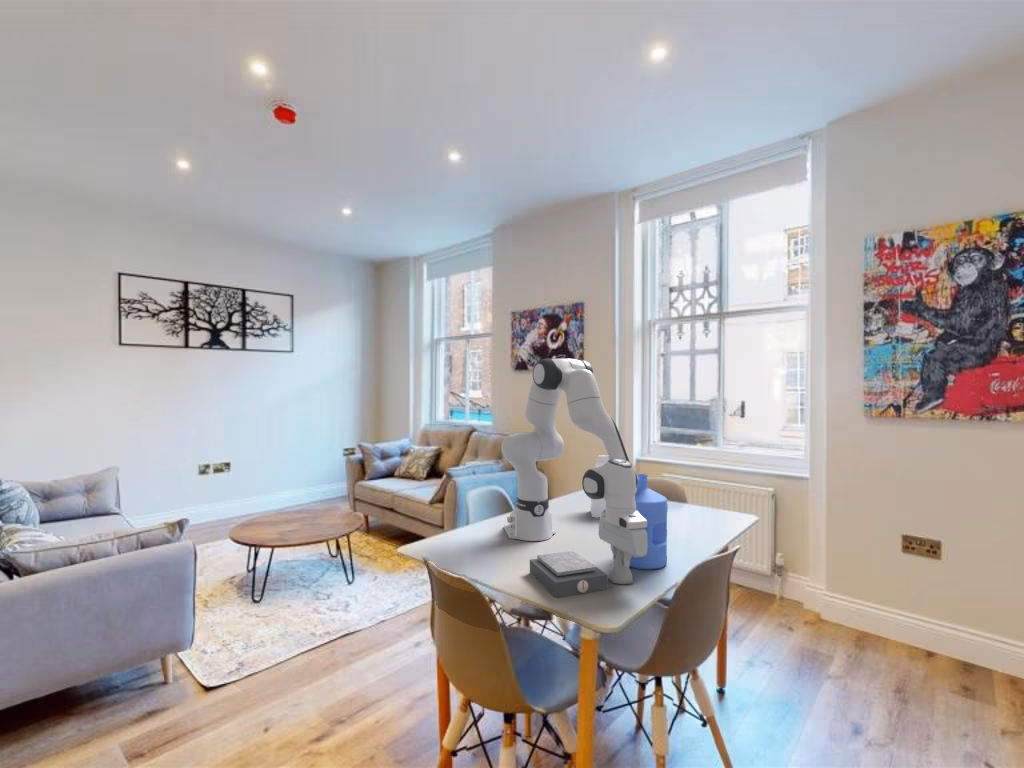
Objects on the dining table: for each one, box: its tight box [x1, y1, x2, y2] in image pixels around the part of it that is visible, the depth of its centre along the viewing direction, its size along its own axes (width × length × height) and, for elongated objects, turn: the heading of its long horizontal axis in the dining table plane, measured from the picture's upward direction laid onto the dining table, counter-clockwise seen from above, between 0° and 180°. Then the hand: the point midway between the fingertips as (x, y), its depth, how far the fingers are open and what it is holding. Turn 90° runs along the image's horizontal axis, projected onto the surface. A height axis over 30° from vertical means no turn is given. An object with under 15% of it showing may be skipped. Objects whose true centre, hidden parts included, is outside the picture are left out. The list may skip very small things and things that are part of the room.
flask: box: [608, 547, 634, 585], centre depth 141 cm, size 7×7×10 cm
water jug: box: [629, 473, 669, 571], centre depth 156 cm, size 16×16×28 cm
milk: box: [590, 455, 610, 518], centre depth 213 cm, size 12×12×26 cm
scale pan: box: [536, 550, 597, 576], centre depth 141 cm, size 14×12×1 cm
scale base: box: [529, 554, 609, 598], centre depth 140 cm, size 19×16×4 cm
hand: (621, 563), depth 141 cm, fingers closed on flask, 3 cm apart
